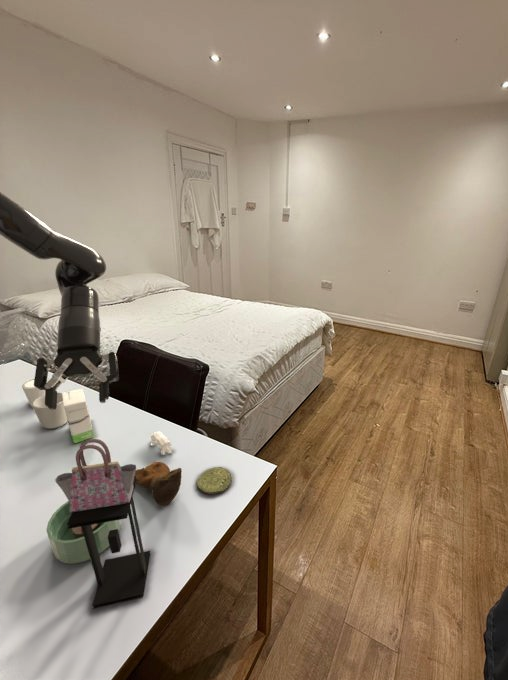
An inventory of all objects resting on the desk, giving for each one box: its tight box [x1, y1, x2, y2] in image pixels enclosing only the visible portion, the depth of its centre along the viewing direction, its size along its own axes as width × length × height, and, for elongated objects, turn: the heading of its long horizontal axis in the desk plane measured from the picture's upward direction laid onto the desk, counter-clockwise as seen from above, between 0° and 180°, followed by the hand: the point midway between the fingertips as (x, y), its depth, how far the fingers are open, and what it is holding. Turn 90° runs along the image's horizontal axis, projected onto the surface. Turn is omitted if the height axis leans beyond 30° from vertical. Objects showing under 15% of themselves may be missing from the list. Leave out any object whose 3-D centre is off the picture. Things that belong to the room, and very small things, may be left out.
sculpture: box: [135, 461, 183, 506], centre depth 72 cm, size 8×10×15 cm
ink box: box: [61, 387, 95, 444], centre depth 88 cm, size 9×5×12 cm, turn 38°
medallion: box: [196, 466, 233, 495], centre depth 76 cm, size 8×8×1 cm
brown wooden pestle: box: [72, 523, 101, 539], centre depth 60 cm, size 4×4×15 cm
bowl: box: [46, 500, 122, 565], centre depth 62 cm, size 11×11×6 cm
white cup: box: [21, 377, 50, 407], centre depth 101 cm, size 7×7×7 cm
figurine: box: [149, 430, 173, 456], centre depth 85 cm, size 2×8×5 cm, turn 50°
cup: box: [31, 392, 68, 430], centre depth 93 cm, size 11×8×8 cm
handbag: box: [54, 438, 151, 610], centre depth 50 cm, size 10×8×30 cm
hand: (78, 405), depth 64 cm, fingers open, 8 cm apart
